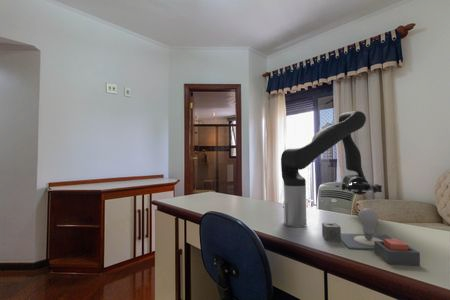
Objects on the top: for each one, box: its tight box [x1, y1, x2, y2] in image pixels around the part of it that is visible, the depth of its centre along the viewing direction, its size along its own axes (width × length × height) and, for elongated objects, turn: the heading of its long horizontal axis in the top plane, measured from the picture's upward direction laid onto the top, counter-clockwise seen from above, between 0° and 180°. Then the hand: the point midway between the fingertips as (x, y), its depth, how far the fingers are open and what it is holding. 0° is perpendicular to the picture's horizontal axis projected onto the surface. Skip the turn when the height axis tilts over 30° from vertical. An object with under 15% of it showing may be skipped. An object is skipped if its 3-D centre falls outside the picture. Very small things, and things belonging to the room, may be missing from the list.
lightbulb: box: [357, 207, 379, 240], centre depth 83 cm, size 6×6×11 cm
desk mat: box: [340, 232, 393, 251], centre depth 83 cm, size 18×14×1 cm
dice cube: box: [321, 222, 342, 242], centre depth 87 cm, size 5×5×5 cm
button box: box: [374, 241, 421, 266], centre depth 70 cm, size 8×8×4 cm
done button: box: [384, 238, 409, 251], centre depth 70 cm, size 4×4×2 cm
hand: (362, 189), depth 93 cm, fingers open, 8 cm apart
